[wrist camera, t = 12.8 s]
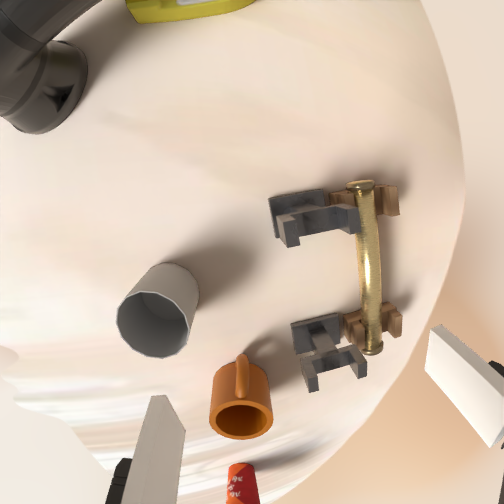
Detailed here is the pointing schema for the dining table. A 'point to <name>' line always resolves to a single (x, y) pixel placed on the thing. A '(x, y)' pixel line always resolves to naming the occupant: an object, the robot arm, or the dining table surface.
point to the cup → (159, 311)
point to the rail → (368, 265)
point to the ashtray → (181, 9)
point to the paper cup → (242, 485)
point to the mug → (240, 401)
